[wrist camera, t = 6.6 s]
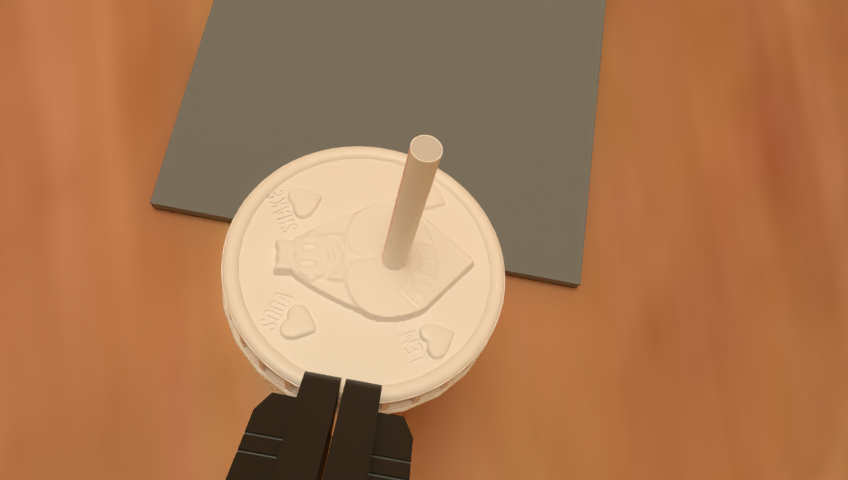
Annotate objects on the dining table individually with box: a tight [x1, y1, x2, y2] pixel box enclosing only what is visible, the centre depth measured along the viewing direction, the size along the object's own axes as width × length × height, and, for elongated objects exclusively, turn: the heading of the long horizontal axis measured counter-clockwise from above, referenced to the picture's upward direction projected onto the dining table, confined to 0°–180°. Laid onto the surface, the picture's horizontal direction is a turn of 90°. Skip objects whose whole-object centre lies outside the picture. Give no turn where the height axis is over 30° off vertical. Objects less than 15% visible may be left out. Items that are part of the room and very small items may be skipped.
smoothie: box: [221, 135, 505, 436], centre depth 17 cm, size 6×6×14 cm
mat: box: [150, 0, 606, 288], centre depth 27 cm, size 16×16×1 cm
